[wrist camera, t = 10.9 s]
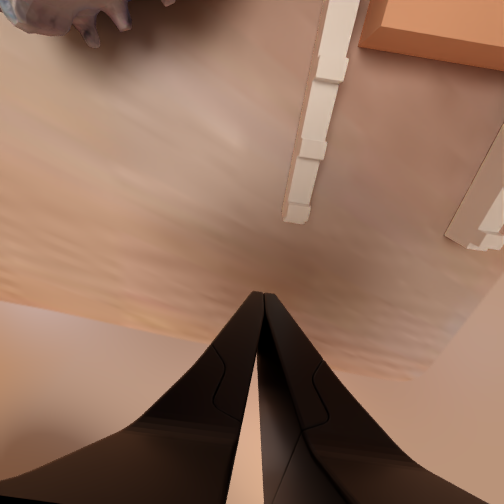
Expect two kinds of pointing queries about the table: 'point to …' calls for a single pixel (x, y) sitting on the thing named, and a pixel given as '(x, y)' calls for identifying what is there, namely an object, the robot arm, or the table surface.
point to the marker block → (438, 30)
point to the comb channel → (314, 146)
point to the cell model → (67, 16)
